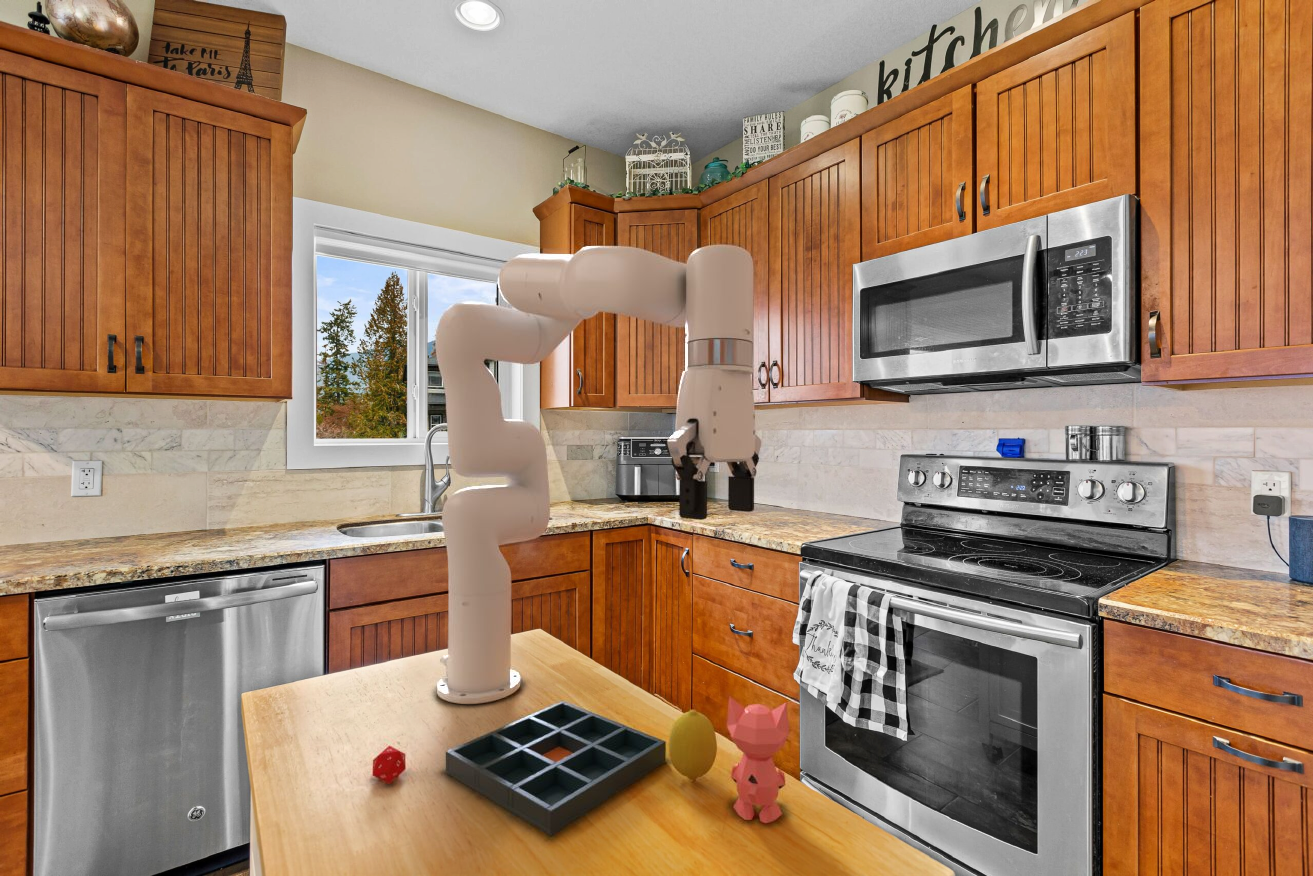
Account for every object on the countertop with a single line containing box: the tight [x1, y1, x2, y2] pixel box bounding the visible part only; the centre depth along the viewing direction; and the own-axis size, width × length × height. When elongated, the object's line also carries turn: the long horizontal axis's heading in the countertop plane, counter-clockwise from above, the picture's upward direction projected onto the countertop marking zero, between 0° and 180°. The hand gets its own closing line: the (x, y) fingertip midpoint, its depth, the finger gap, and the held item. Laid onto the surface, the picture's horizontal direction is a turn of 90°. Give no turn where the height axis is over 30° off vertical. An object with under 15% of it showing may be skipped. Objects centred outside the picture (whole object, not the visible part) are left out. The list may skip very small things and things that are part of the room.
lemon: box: [668, 709, 718, 782], centre depth 71 cm, size 6×6×8 cm
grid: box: [444, 700, 667, 837], centre depth 73 cm, size 18×18×2 cm
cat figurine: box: [726, 695, 792, 824], centre depth 64 cm, size 7×7×12 cm
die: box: [371, 745, 407, 785], centre depth 70 cm, size 4×4×4 cm
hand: (718, 514), depth 68 cm, fingers open, 9 cm apart
